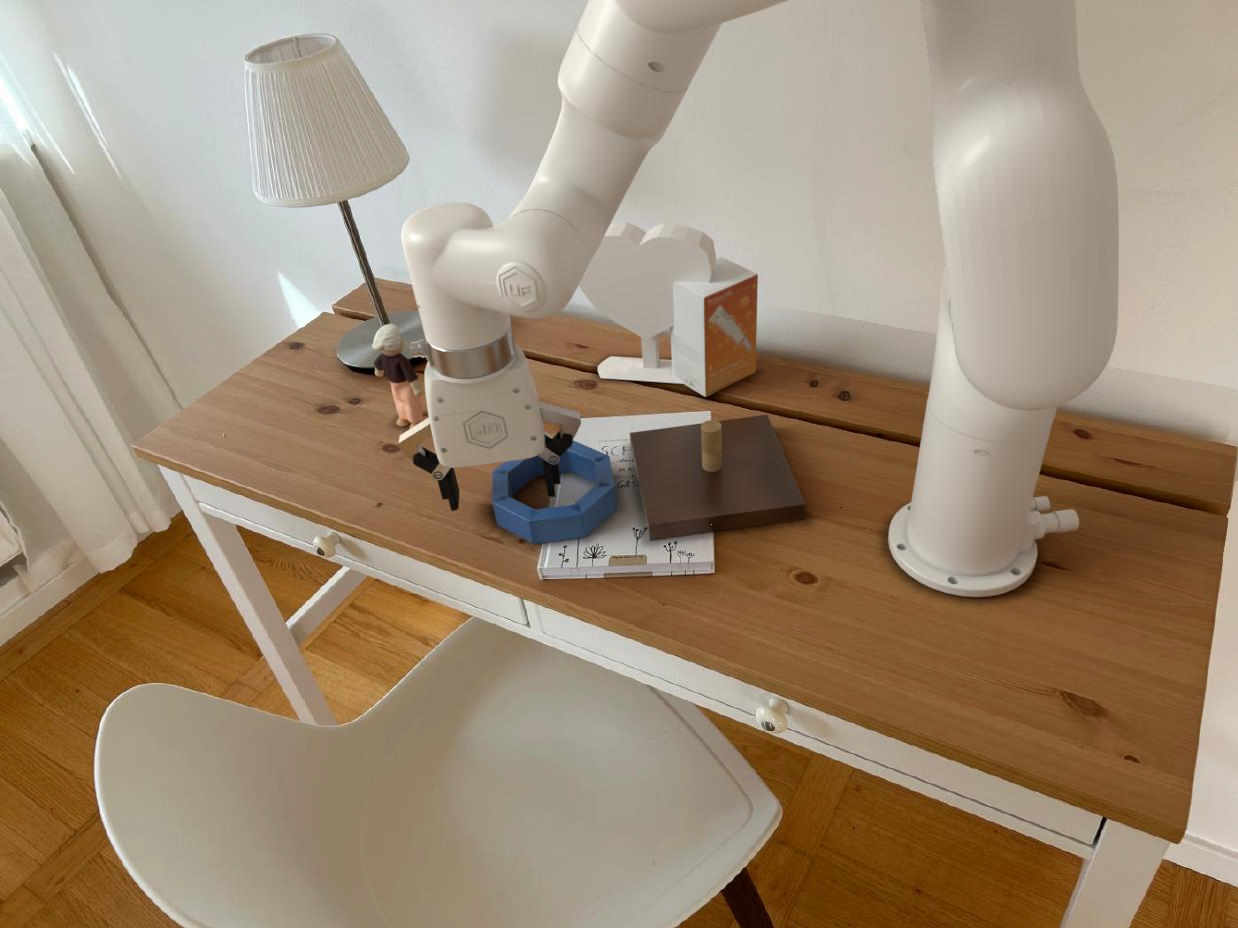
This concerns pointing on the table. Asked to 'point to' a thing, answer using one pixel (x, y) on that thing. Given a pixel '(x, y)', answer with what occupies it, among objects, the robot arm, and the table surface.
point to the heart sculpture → (645, 288)
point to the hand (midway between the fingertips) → (503, 495)
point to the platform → (714, 477)
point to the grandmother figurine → (399, 375)
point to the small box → (715, 328)
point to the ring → (555, 519)
